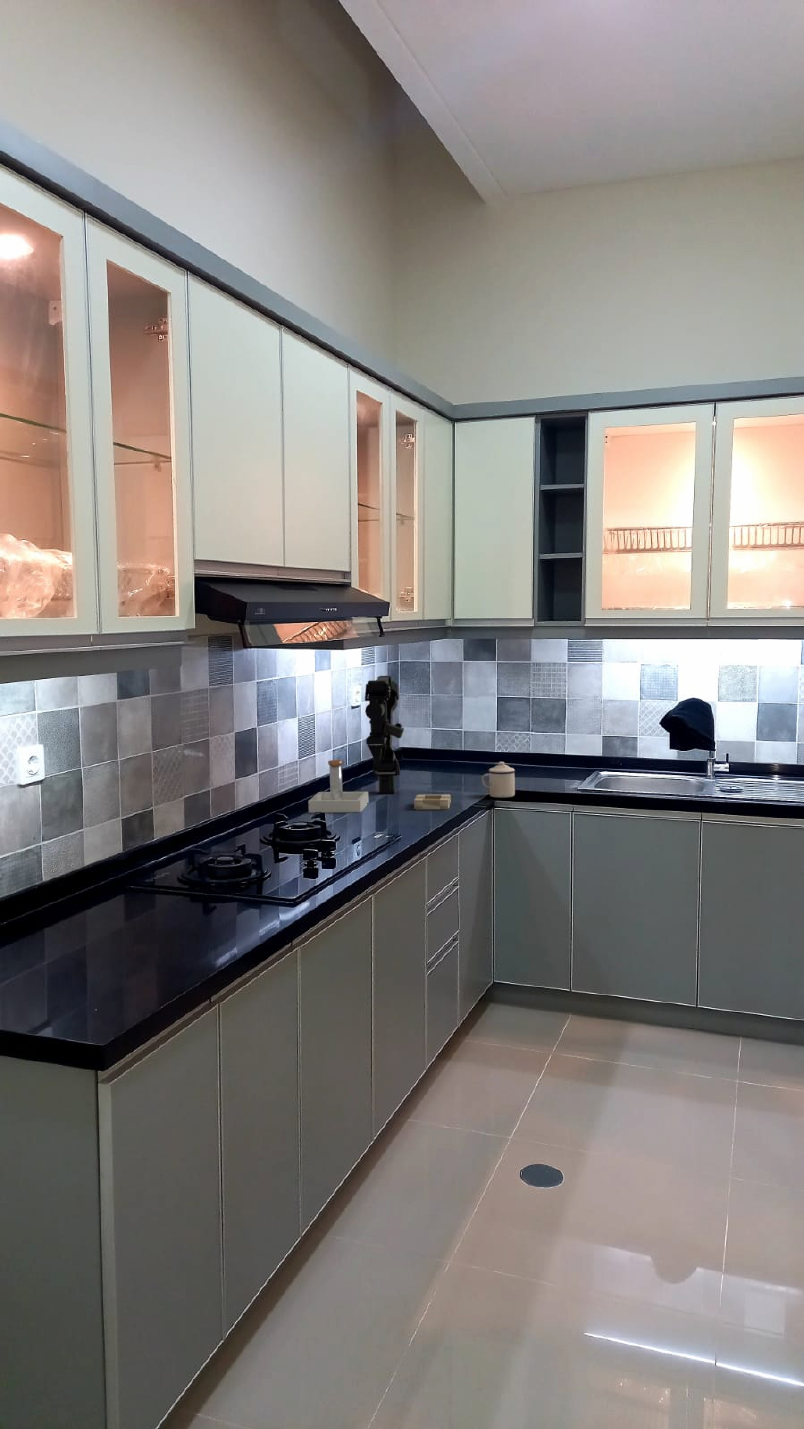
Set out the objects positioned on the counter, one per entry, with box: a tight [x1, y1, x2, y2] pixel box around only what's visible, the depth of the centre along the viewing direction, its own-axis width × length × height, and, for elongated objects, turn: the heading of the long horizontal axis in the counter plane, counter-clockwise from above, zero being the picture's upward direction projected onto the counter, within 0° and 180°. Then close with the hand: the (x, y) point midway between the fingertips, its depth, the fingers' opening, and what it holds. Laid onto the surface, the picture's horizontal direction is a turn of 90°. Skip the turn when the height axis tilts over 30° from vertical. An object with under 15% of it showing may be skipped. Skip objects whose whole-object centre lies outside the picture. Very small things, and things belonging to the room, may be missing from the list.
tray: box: [308, 791, 369, 813], centre depth 336 cm, size 17×17×4 cm
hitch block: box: [413, 793, 451, 811], centre depth 334 cm, size 11×11×3 cm
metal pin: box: [327, 759, 344, 800], centre depth 334 cm, size 5×5×15 cm
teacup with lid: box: [481, 761, 516, 799], centre depth 350 cm, size 12×9×12 cm
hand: (379, 762), depth 348 cm, fingers open, 9 cm apart
